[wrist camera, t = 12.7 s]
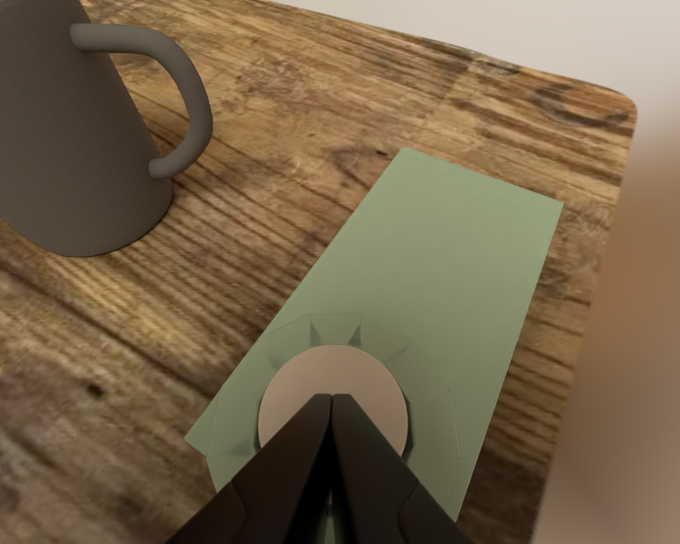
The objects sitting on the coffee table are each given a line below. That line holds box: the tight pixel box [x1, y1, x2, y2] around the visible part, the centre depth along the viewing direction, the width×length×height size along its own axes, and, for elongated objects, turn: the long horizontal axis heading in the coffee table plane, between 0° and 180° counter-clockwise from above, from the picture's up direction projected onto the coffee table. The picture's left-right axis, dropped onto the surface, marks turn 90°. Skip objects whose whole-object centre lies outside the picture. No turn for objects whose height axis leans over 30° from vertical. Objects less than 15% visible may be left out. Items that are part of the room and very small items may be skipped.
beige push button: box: [258, 345, 408, 504], centre depth 10 cm, size 4×4×3 cm
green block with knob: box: [184, 146, 564, 544], centre depth 15 cm, size 17×8×7 cm, turn 150°
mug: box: [0, 0, 213, 257], centre depth 18 cm, size 14×9×12 cm
